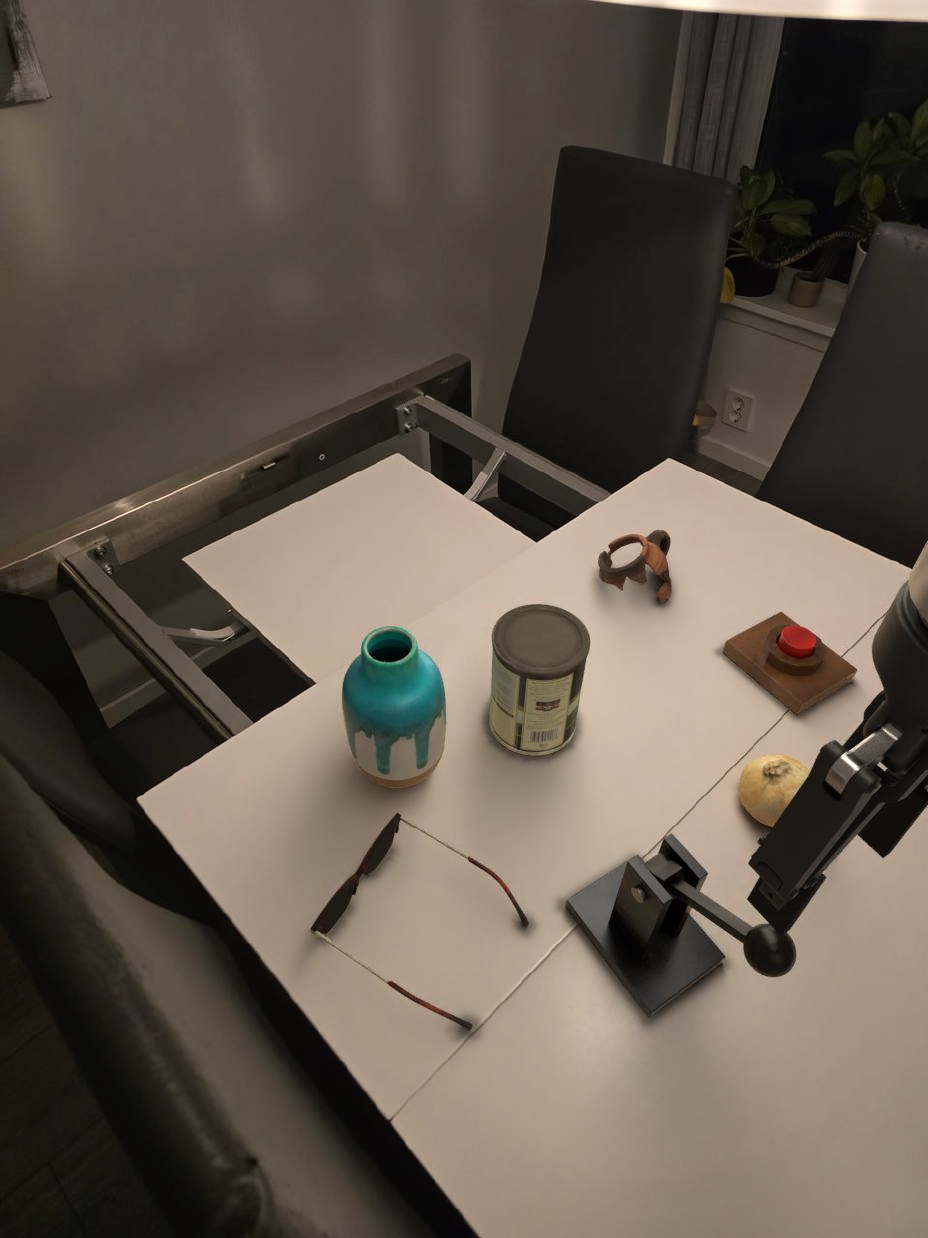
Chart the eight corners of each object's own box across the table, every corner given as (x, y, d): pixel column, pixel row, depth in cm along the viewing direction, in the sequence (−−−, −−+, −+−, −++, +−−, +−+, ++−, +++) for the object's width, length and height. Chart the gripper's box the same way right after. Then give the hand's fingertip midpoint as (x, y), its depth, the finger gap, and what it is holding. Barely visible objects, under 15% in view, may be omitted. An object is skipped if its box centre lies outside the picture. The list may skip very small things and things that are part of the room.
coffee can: (538, 674, 97) (548, 590, 87) (594, 729, 91) (611, 646, 81) (470, 711, 92) (472, 627, 83) (524, 772, 86) (532, 689, 77)
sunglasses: (397, 834, 81) (397, 809, 77) (534, 916, 76) (541, 894, 72) (313, 949, 72) (308, 927, 69) (461, 1050, 67) (465, 1032, 64)
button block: (851, 681, 96) (863, 659, 93) (796, 715, 92) (807, 693, 90) (776, 622, 103) (785, 600, 101) (722, 652, 100) (729, 630, 97)
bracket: (722, 962, 72) (761, 898, 63) (649, 1018, 68) (678, 958, 59) (635, 860, 79) (658, 789, 70) (565, 906, 76) (579, 837, 67)
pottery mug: (659, 621, 104) (635, 578, 100) (602, 613, 111) (578, 572, 107) (698, 557, 109) (678, 513, 104) (642, 553, 116) (620, 512, 111)
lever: (809, 969, 56) (805, 931, 55) (775, 997, 55) (769, 958, 54) (671, 876, 68) (664, 842, 67) (640, 897, 67) (632, 863, 66)
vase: (342, 738, 90) (322, 619, 76) (431, 715, 92) (427, 596, 78) (363, 815, 82) (345, 700, 69) (459, 789, 85) (460, 672, 71)
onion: (775, 765, 87) (794, 726, 82) (827, 822, 82) (851, 784, 77) (718, 791, 85) (734, 752, 80) (767, 851, 80) (788, 814, 75)
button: (818, 650, 95) (823, 640, 94) (796, 663, 93) (800, 653, 92) (792, 630, 97) (797, 620, 96) (770, 643, 96) (774, 633, 95)
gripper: (1051, 492, 39) (879, 757, 55) (749, 660, 31) (649, 915, 47) (1217, 577, 35) (978, 839, 51) (917, 800, 26) (743, 1029, 42)
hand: (820, 875), depth 49 cm, fingers open, 9 cm apart
